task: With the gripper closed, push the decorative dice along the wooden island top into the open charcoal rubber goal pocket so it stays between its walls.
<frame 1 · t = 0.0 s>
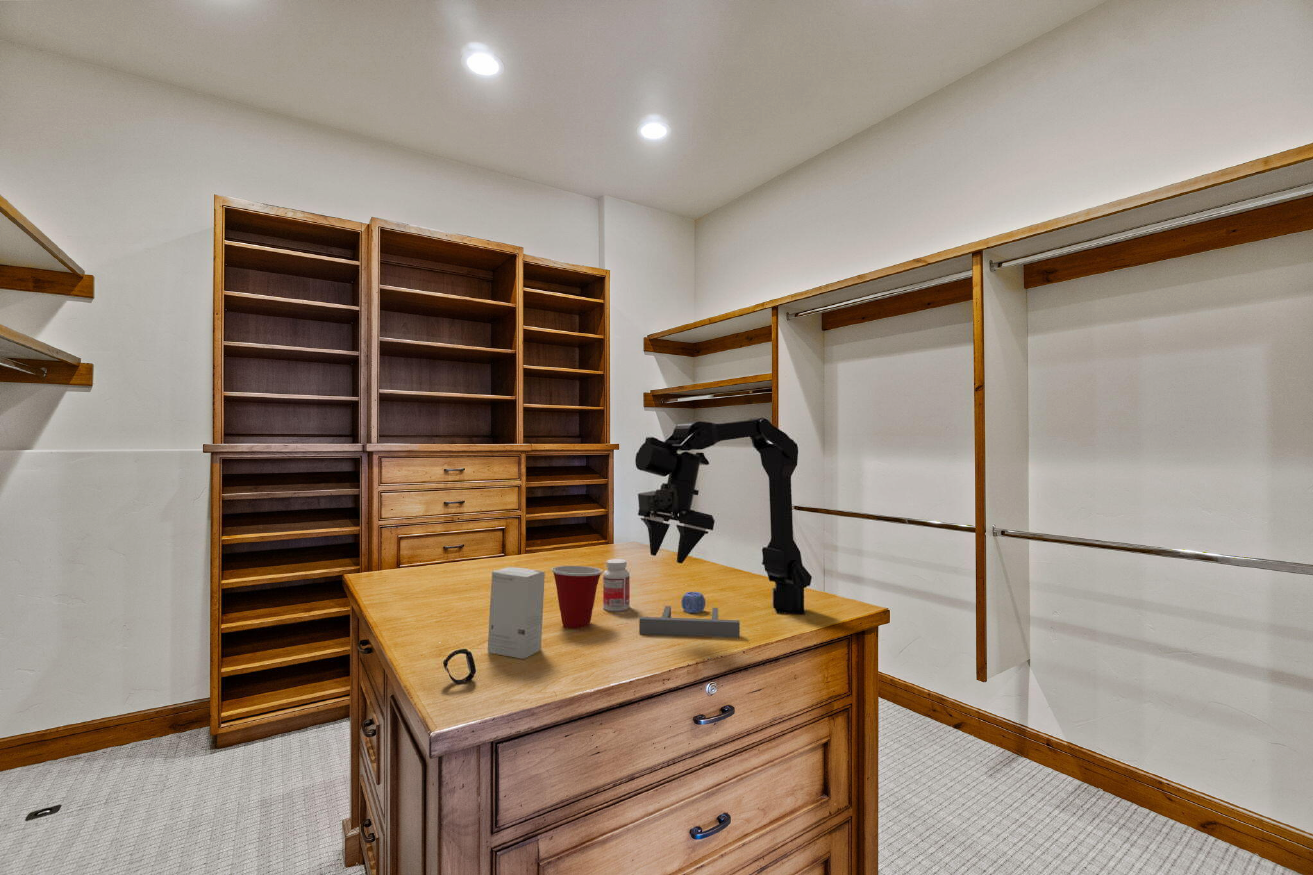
hand: (665, 559, 112), 15 cm above the table, tool pointing down, fingers open, 9 cm apart
pill bottle: (616, 609, 132), on the table
smartwatch: (460, 682, 90), on the table
plastic cup: (577, 625, 120), on the table
skincare box: (516, 652, 104), on the table
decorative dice: (693, 612, 130), on the table
goal pocket: (690, 627, 117), on the table
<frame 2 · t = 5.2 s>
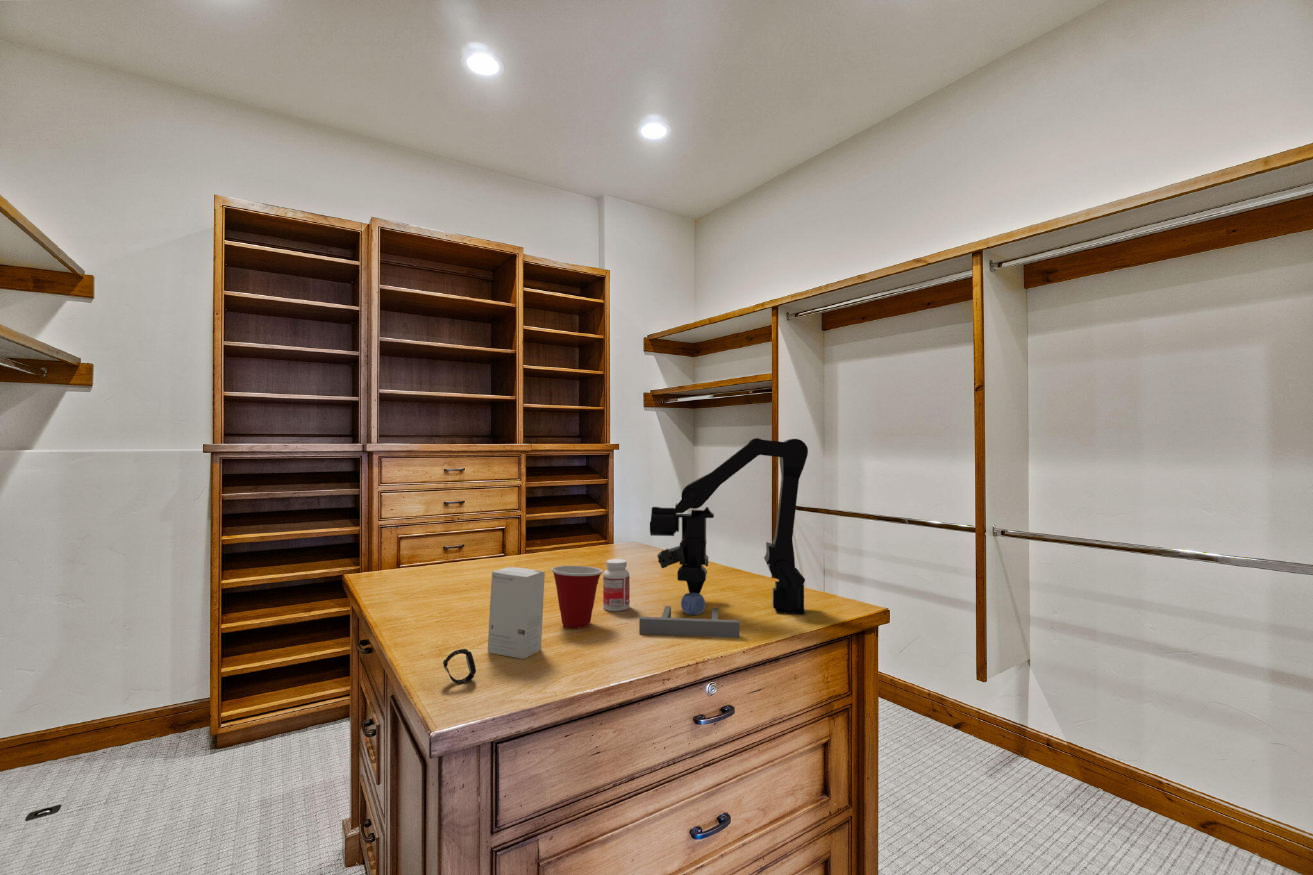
hand: (693, 602, 133), 1 cm above the table, tool pointing down, fingers closed
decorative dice: (693, 613, 129), on the table, touching gripper
everything else where it was.
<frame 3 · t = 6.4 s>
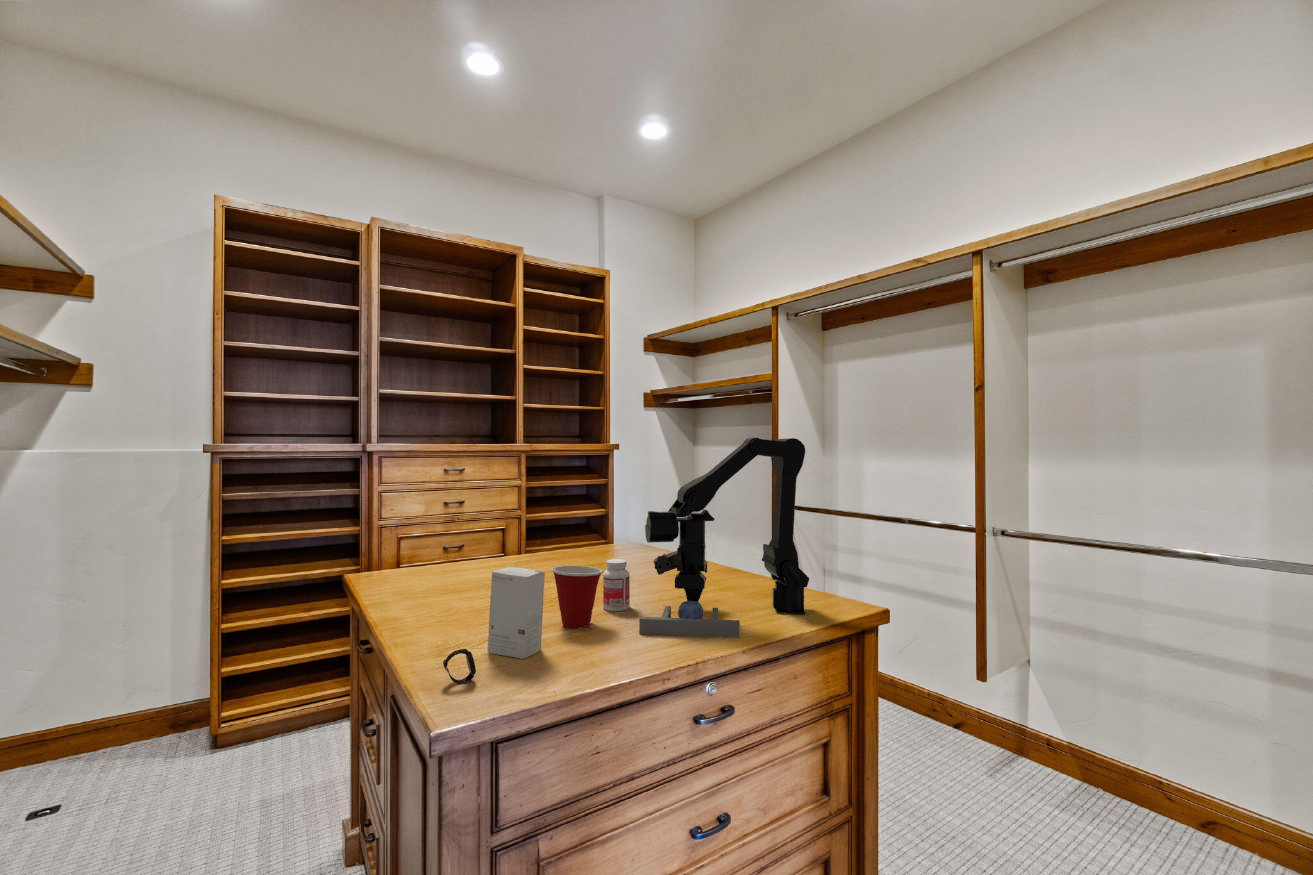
hand: (692, 611, 126), 1 cm above the table, tool pointing down, fingers closed
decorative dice: (690, 622, 122), on the table, touching gripper
everything else where it was.
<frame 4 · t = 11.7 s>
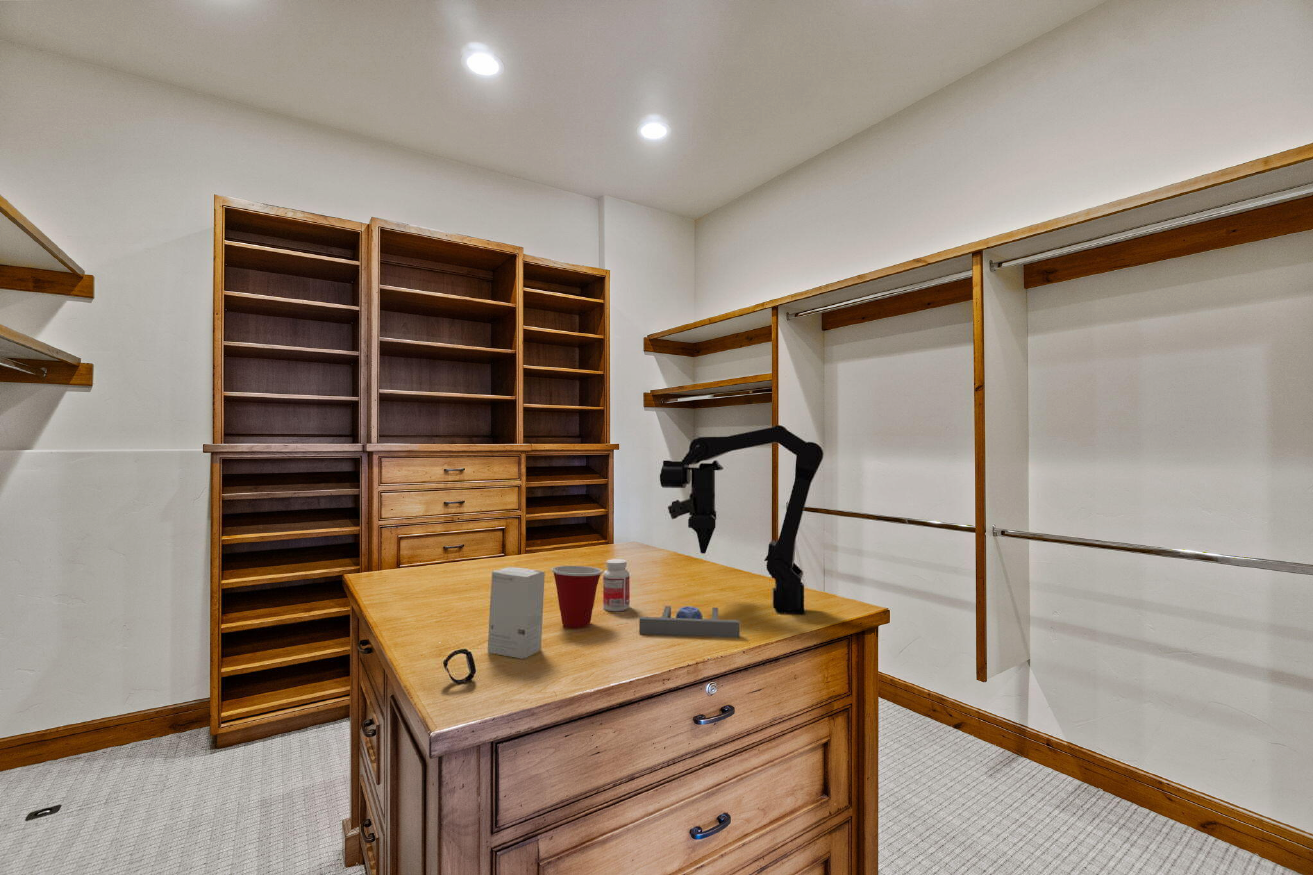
hand: (703, 553, 137), 12 cm above the table, tool pointing down, fingers closed
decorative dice: (689, 629, 118), on the table
everything else where it was.
at the end: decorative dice 0.4 cm off-centre on the goal pocket, point 0.0 cm above the goal pocket's base; the gripper is holding nothing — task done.
